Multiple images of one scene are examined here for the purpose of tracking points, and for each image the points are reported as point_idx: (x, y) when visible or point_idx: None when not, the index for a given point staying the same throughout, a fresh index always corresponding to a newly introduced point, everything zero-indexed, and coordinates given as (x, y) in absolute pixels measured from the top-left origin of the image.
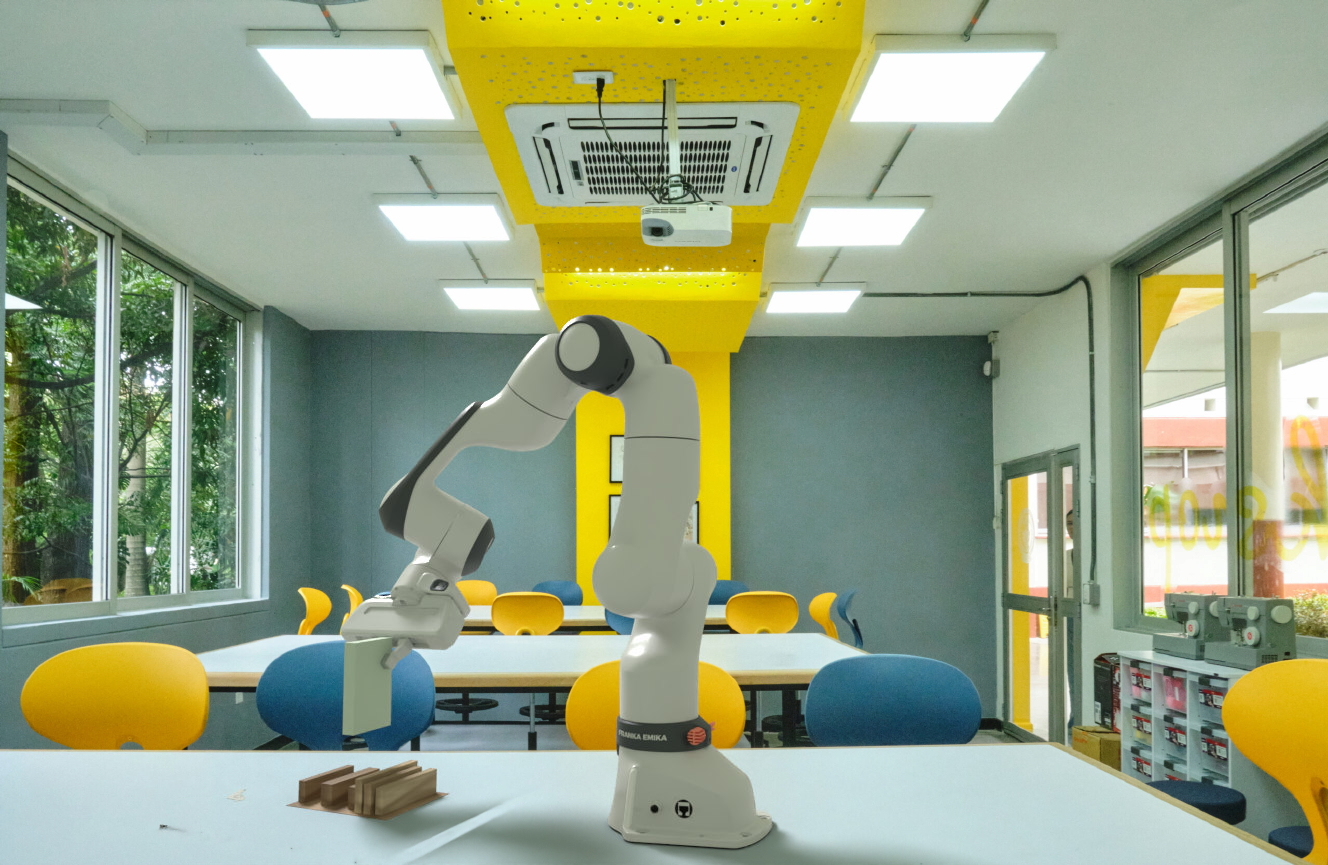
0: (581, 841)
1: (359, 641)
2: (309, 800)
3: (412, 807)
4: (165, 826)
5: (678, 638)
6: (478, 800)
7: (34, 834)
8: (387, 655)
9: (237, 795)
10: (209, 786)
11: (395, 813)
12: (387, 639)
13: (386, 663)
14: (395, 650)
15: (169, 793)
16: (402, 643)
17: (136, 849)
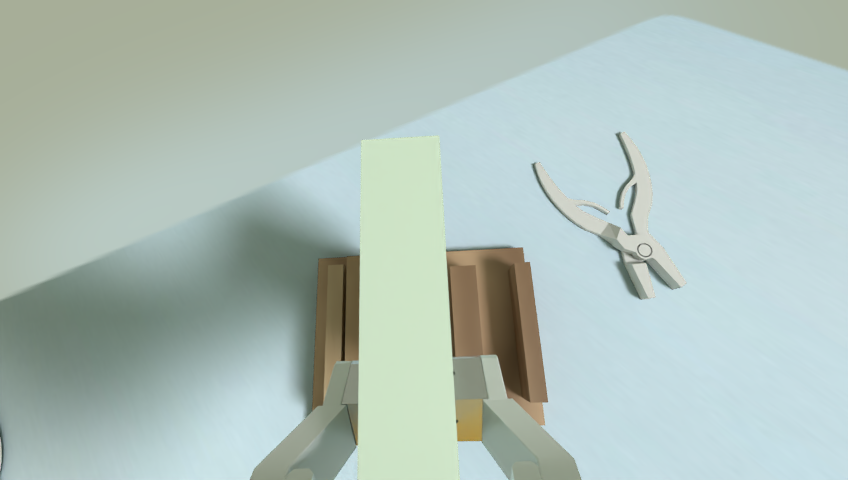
0: (28, 339)
1: (402, 210)
2: (509, 281)
3: (321, 328)
4: (620, 139)
5: None
6: None
7: (735, 53)
8: (356, 393)
9: (652, 253)
10: (808, 312)
11: (326, 290)
12: (360, 439)
13: (347, 361)
14: (309, 423)
15: (815, 249)
16: (267, 477)
17: (557, 75)
